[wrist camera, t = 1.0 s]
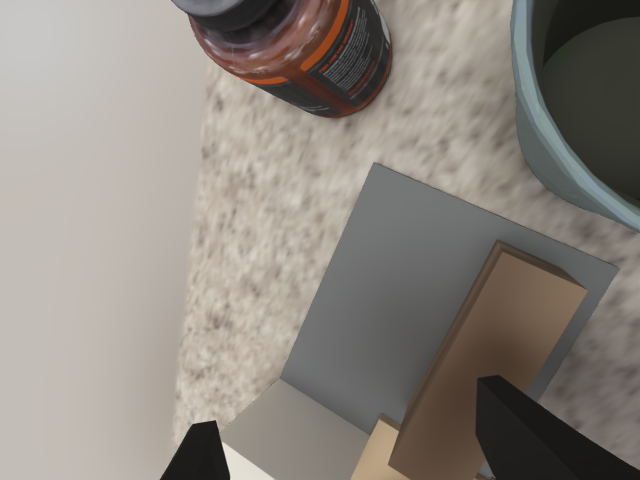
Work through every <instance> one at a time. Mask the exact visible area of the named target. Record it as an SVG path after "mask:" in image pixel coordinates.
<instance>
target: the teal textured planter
mask: <svg viewBox="0 0 640 480" xmlns="http://www.w3.org/2000/svg"><path fill="white" fill-rule="evenodd" d="M510 28H511V49H512V65H513V72H514V79H515V87H516V93H515V95H516V102H517V107H516V121H517V132H518V139H519V143H520V147H521V151H522V153H523V155H524V157H525V159H526V161H527V163H528V164H529V166H530V168H531V170H532V172H533V173H534V174H535V176H536V177H537V178H538V179H539V180H540V181H541V182H542V184H544V185H545V186H546V187H547V188H548V189H549V190H550V191H552V192H553V193H554V194H556V195H557V196H559V197H561V198H562V199H564V200H566V201H568V202H570V203H572V204H574V205H576V206H578V207H580V208H583V209H585V210H588V211H592V212H595V213H598V214H600V215H602V216H604V217H607V218H609V219H612V220H614V221H617V222H620V223H621V224H623V225H625V226H627V227H629V228H631V229H633V230H635V231H637V232H639V233H640V0H513V7H512V15H511V23H510Z"/></svg>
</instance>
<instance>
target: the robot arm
mask: <svg viewBox="0 0 640 480" xmlns="http://www.w3.org/2000/svg"><path fill="white" fill-rule="evenodd" d="M475 435H476V437H477V439H478V442H479V444H480V446H481V449H482V451H483V453H484V456H485V458H486V460H487V462H488V464H489V467H490V469H491V471H492V473H493V475H494V476H495V478H496V480H640V470H638V469H636V468H634V467H633V466H631V465H629V464H628V463H626V462H624V461H623V460H621V459H619V458H618V457H616V456H615V455H613V454H611V453H610V452H608V451H607V450H605V449H604V448H602V447H600V446H599V445H597V444H596V443H594V442H593V441H591V440H589V439H588V438H586V437H585V436H583V435H582V434H580V433H579V432H577V431H576V430H575V429H573V428H572V427H570V426H569V425H567V424H566V423H564V422H563V421H562V420H560V419H559V418H557V417H556V416H554V415H553V414H552V413H550V412H549V411H548V410H546V409H545V408H543V407H542V406H541V405H539V404H538V403H537V402H535V401H534V400H532V399H531V398H530V397H528V396H527V395H526V394H524V393H523V392H522V391H520V390H519V389H518V388H516V387H515V386H514V385H512V384H511V383H510V382H508V381H507V380H505V379H504V378H503V377H501V376H500V375H492V376H486V377H480V378H477V397H476V426H475ZM160 480H230V472H229V468H228V465H227V461H226V457H225V453H224V449H223V446H222V442H221V438H220V434H219V430H218V427H217V423H216V420H214V421H208V422H202V423H196V424H193V425H192V426H191V427H190V428H189V430H188V432H187V434H186V436H185V437H184V439H183V441H182V443H181V444H180V446H179V448H178V450H177V452H176V453H175V455H174V457H173V458H172V460H171V462H170V464H169V465H168V467H167V469H166V470H165V472H164V474H163V475H162V477H161V479H160Z"/></svg>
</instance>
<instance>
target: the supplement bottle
mask: <svg viewBox="0 0 640 480" xmlns="http://www.w3.org/2000/svg"><path fill="white" fill-rule="evenodd" d="M171 1H172V2H173V3H174V4H175V5H176V6H177V7H178V8H180V9H181V10H183V11H184V12H185V13H187V14H188V17H189V21H190V24H191V27H192V30H193V33H194V35H195V37H196V39H197V41H198V42H199V44H200V46H201V47H202V48H203V50H204V51H205V53H206V54H207V55H208V56H209V57H210V58H211V59H212V60H213V61H214V62H215V63H217V64H218V65H219V66H221V67H222V68H224V69H225V70H226V71H228V72H229V73H231V74H233V75H235V76H237V77H239V78H240V79H243V80H245V81H246V82H248V83H250V84H252V85H254V86H256V87H258V88H260V89H263V90H264V91H266V92H268V93H270V94H272V95H274V96H276V97H278V98H280V99H282V100H284V101H286V102H288V103H290V104H292V105H294V106H296V107H298V108H301V109H303V110H304V111H306V112H309V113H311V114H315V115H318V116H322V117H327V118H334V117H342V116H346V115H349V114H352V113H354V112H356V111H358V110H360V109H361V108H363V107H364V106H366V105H367V104H368V103H369V102H370V101H371V100H372V99H373V98H374V97H375V96H376V95H377V93H378V92H379V91H380V89H381V87H382V86H383V84H384V82H385V80H386V78H387V75H388V73H389V69H390V65H391V59H392V46H391V39H390V34H389V31H388V29H387V26H386V23H385V21H384V19H383V17H382V15H381V14H380V12H379V10H378V8H377V6H376V4H375V2H374V1H373V0H171Z"/></svg>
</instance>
